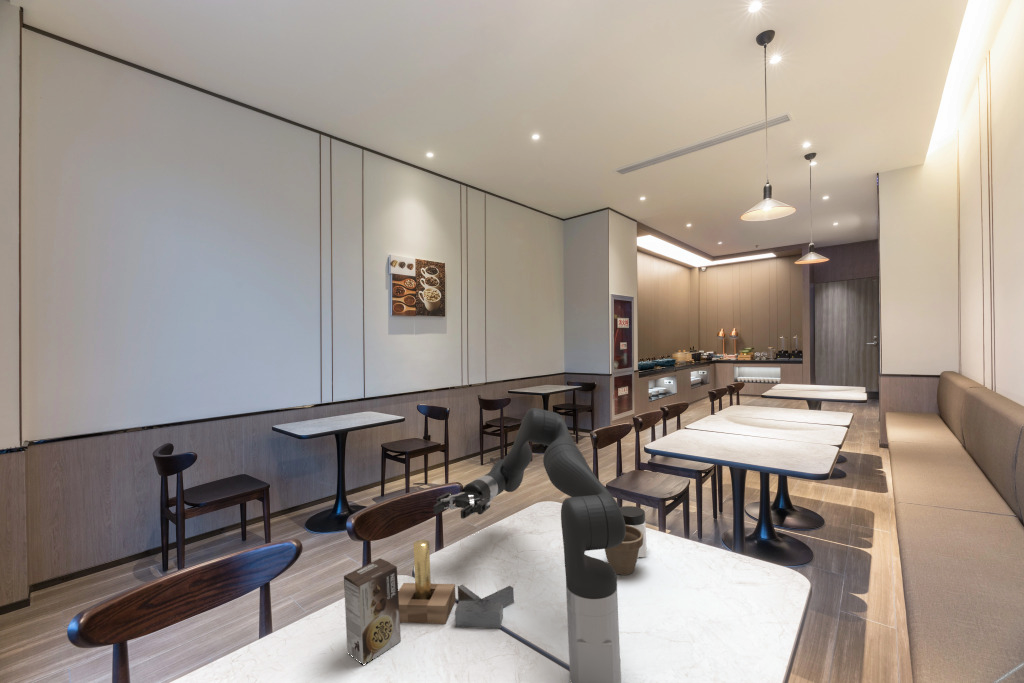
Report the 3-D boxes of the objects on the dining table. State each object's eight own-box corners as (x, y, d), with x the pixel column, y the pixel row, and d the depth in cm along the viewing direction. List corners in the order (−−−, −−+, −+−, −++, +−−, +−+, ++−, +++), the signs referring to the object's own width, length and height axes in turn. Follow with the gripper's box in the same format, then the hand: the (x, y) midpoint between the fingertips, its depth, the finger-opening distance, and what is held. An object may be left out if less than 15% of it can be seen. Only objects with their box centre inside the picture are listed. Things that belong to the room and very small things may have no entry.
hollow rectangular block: (445, 623, 99) (445, 605, 99) (390, 621, 101) (389, 604, 101) (455, 600, 108) (455, 584, 108) (404, 599, 110) (403, 582, 110)
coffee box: (383, 630, 98) (380, 557, 98) (401, 641, 94) (398, 565, 94) (345, 653, 91) (342, 574, 91) (363, 667, 87) (360, 584, 87)
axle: (429, 615, 102) (426, 546, 102) (414, 615, 103) (411, 546, 103) (433, 606, 106) (431, 539, 106) (419, 606, 106) (416, 539, 106)
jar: (619, 543, 134) (617, 504, 135) (647, 547, 132) (645, 506, 132) (615, 557, 126) (614, 515, 126) (645, 561, 123) (643, 518, 123)
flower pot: (654, 574, 116) (652, 536, 116) (617, 585, 112) (615, 545, 112) (627, 555, 127) (625, 520, 127) (593, 564, 123) (591, 528, 123)
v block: (508, 628, 96) (508, 612, 96) (447, 626, 98) (446, 610, 98) (514, 600, 107) (513, 585, 107) (459, 598, 109) (458, 584, 109)
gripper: (459, 476, 132) (425, 494, 118) (501, 481, 126) (470, 501, 111) (460, 501, 132) (426, 522, 118) (502, 508, 126) (472, 531, 111)
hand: (448, 512), depth 115 cm, fingers open, 8 cm apart
